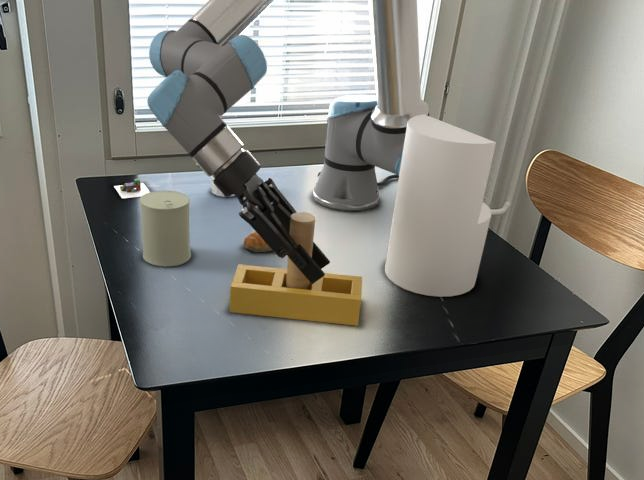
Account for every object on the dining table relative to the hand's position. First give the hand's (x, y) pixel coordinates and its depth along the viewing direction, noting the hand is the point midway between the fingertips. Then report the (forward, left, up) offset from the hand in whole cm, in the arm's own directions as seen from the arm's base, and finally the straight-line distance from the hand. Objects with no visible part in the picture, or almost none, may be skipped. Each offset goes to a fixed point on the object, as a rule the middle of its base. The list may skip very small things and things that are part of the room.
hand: (321, 272), depth 120 cm
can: (+14, -31, -8) cm, 34 cm away
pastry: (-6, -26, -8) cm, 28 cm away
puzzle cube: (+6, -65, -8) cm, 65 cm away
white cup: (-13, -55, -8) cm, 57 cm away
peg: (+3, -3, -5) cm, 6 cm away
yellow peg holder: (+3, -3, -7) cm, 8 cm away
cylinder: (-27, -1, -8) cm, 28 cm away
